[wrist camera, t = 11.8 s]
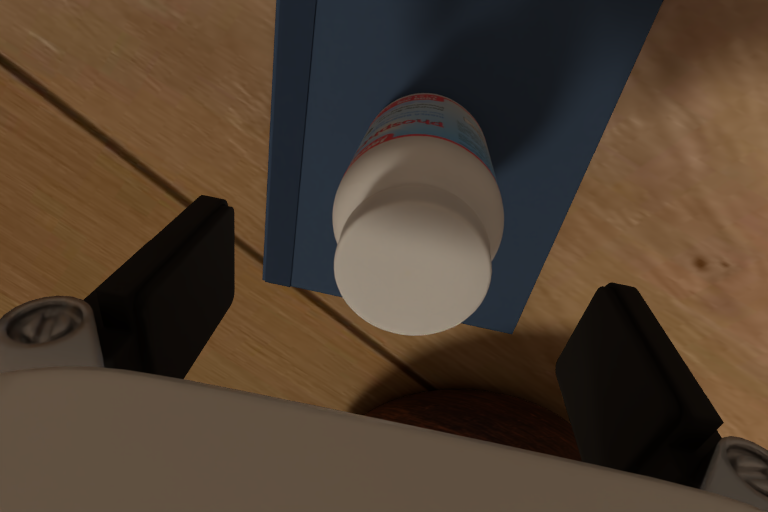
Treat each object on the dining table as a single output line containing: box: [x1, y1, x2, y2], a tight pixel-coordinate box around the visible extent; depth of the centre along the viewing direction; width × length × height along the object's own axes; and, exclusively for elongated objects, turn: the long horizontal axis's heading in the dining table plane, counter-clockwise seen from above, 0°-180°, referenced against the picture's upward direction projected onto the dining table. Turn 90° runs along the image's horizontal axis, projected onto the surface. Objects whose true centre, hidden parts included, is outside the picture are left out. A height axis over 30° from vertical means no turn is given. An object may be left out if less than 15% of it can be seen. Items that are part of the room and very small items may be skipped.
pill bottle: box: [332, 93, 504, 336], centre depth 17 cm, size 6×6×11 cm
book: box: [263, 0, 663, 334], centre depth 22 cm, size 20×16×1 cm
